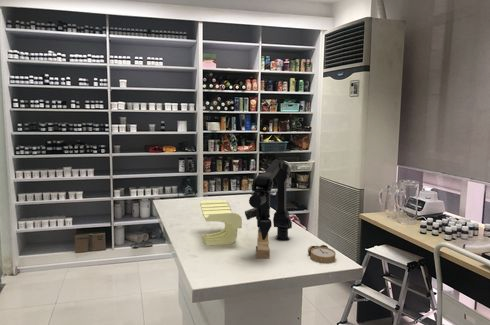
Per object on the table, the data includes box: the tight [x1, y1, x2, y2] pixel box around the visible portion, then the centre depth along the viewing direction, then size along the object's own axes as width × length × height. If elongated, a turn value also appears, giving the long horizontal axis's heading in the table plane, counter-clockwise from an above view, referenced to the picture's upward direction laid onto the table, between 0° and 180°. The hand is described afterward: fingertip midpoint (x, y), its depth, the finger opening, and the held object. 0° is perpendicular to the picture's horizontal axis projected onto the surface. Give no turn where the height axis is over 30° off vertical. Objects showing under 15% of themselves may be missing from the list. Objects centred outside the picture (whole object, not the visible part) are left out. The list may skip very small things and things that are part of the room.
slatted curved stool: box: [199, 199, 243, 246], centre depth 201 cm, size 30×16×18 cm, turn 14°
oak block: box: [256, 239, 270, 250], centre depth 178 cm, size 5×5×4 cm
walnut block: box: [255, 245, 271, 260], centre depth 179 cm, size 6×6×4 cm
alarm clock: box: [307, 244, 337, 264], centre depth 179 cm, size 11×5×15 cm
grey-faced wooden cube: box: [257, 227, 269, 242], centre depth 178 cm, size 4×4×5 cm
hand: (263, 236), depth 178 cm, fingers open, 9 cm apart
